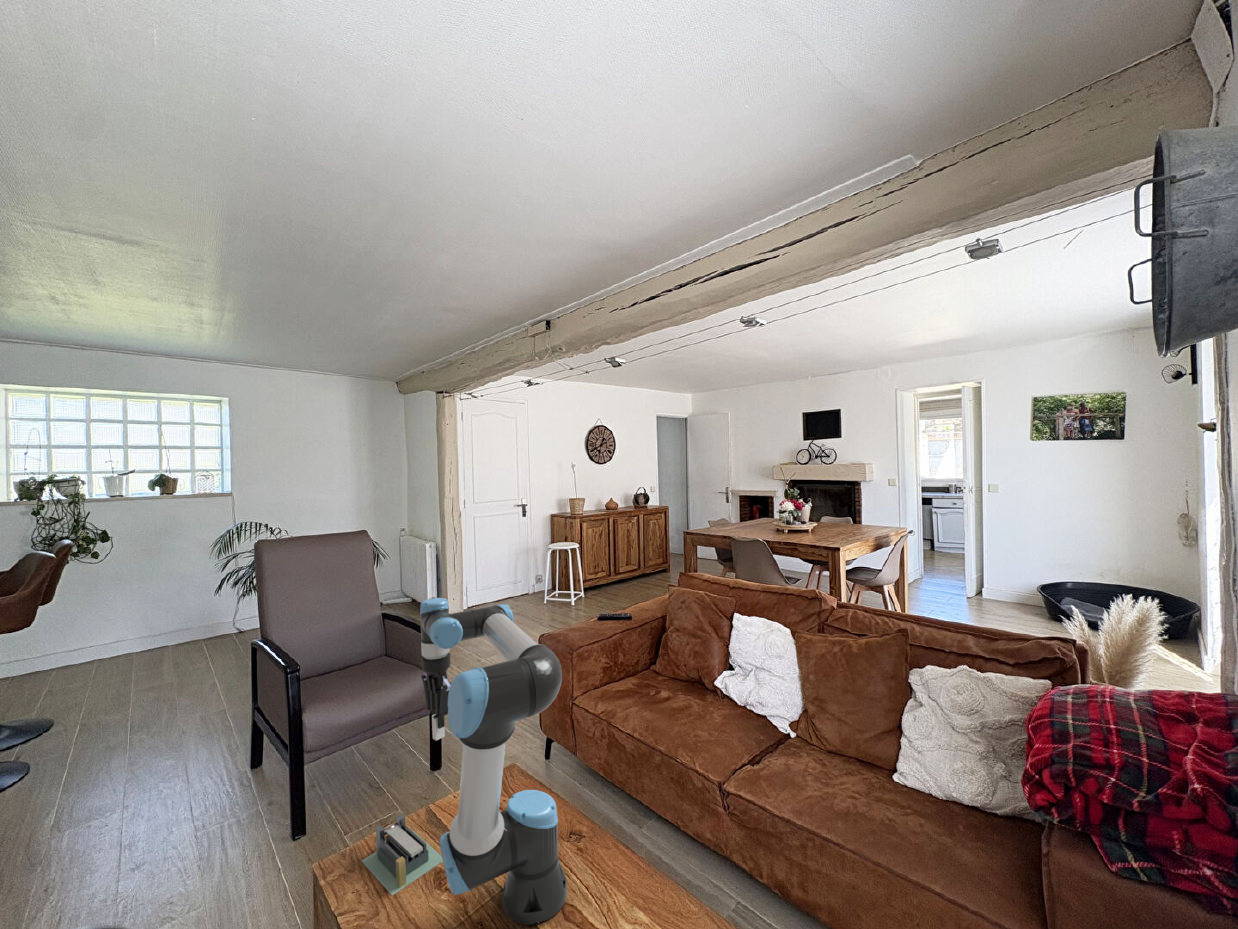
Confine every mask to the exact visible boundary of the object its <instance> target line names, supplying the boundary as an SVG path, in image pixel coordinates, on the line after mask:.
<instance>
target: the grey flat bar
mask: <svg viewBox="0 0 1238 929" xmlns="http://www.w3.org/2000/svg"><path fill="white" fill-rule="evenodd" d="M384 832H385V836H389V837H390V838H391V839H392V840H393V841H394V842H395V843H396V844H397V845H398V846H399V847H400V848H402V849H403V850H404V851H405V852H406V853H407V854H408V855H409V856H410V857H411V858H412V857H413V856H415V855H416V854H418V853H420V852H421V851H423V847H422V846H421V845H420V844H418V843H417V842H416V841H415V840H414V839H413V838H412V837H410V836H409V835H408V834H407V833H406V832H405V831H404V830H402V829H401V828H400V827H399V825H398V823H397V821H396V822H394V823H393V824H391V825H389V826H387V827H385V828H384Z"/></svg>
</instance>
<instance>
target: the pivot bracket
mask: <svg viewBox="0 0 1238 929" xmlns="http://www.w3.org/2000/svg"><path fill="white" fill-rule="evenodd" d="M396 822H397V823H398V825H399V827H400V828H401V829H402V830H404V827H403V826H405V825H406V816H404V815H403V814H402V813H399V814H397V815H396ZM384 829H385V828H384V827H383V826H382V825H378V826H376V827H375V846H376V847H375V848H376V851H375V852H377V855H378V848H380V844H379V840H381V839H383V840H384V841H385V842H386V837H385V836H386V835H385V832H384Z"/></svg>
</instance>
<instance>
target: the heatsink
mask: <svg viewBox="0 0 1238 929" xmlns="http://www.w3.org/2000/svg"><path fill="white" fill-rule="evenodd" d="M403 827H404V831H405V832H406V833H407V834H408V835H409V836H410V837H412V838H413V839H414V840H415V841H416V842H417V843H418V844H420V845H421V846H422V847H423V851H421V852H420V853H418V854H416V855H415V856H413V857H412V858H411V857H410V856H409V855H408V854H407V853H406V852H405V851H404V850H403V849H402V848H400V847H399V846H398V845H397V844H396V843H395V842H394V841H393V840H392V839H391V838H390V837H389V836H387V835H385V841H384V840H383V839H381V840H379V844H380V848H378V860H379V861H380V862H381V863H382V864H383V865H384V866H385V867H386V868H387V869H388V870H389V871H390V873H391V874H392V875H393V876H394V877H395V878H396V860H397V859H398V858H400V857H403V858H404V859H405V865H406V876H407V875H408V874H410V873H411V872H413V871H414V870H416V869H417V868H419V867H420V866H422V865H423V864H425V863H426V862H428V861H429V857H428V849H426V843H425V842H426V841H425V840H424V839H423V838H422V839H423V840H424V841H425V842H424V841H423V840H422V839H420V838H419V837H418V836H417V835H416V834H417V833H416V832H415V831H414V830H413V831H414V832H415V833H416V834H415V833H414V832H413V831H412V829H411V828H410V827H409V826H407V825H406V824H405V826H403Z"/></svg>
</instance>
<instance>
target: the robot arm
mask: <svg viewBox="0 0 1238 929" xmlns="http://www.w3.org/2000/svg"><path fill="white" fill-rule="evenodd" d="M419 609H420V612H419V616H420V632H421V634H420V635H421V636H420V637H421V638H420V639H421V642H420V643H421V645H420V646H421V656H422V657H421V669H422V671H423V672H425V673H424V674H421V681H422V683H423V690H424V691H423V692H424V699H425V705H426V709H427V711H429V712H430V713H429V714H431V727H432V728H431V731H432V732H431V734H432V739H433V740H434V741H438V740H440V739H442V738H445V737H446V735H445V734H446V733H445V732H446V731H445V716H447V719H448V725H449V729H450V731H451V734H452V736H454V737H455V738H457V739H458V740H459V742H460V743H461V744H462V756H461V757H462V758H461V770H460V781H459V783H460V784H459V798H458V810H457V811H458V812H457V814H456V816H455V817H454V818H453V820H452V822H451V823H450V827H449V831H446V832H445V833H443V834H442V835H441V836H440V837H439V847H440V855H441V856H442V859H443V862H442V863H443V868H444V871H445V878H446V880H447V883H448V884H447V885H448V888H449V890H450V892H451V893H452V894H453V895H455V896H457V895H461V894H463V893H466V892H470V891H472V890H473V889H476V888H477V887H480V886H481V885H485V884H486V883H488V882H491V881H492V880H495V879H496V878H498V877H500V876H502V875H504V874H506V880H505V882H504V884H503V888H502V895H501V896H502V899H501V900H502V909H503V911H504V913H505V915H506V916H507V917H508V918H509V919H510V920H511V921H513V922H514V923H515V924H516V923H517V924H521V925H526V926H528V925H529V926H533V925H535V924H534V923H538V922H542V921H544V920H546V921H548V920H550V919H552V918H553V917H554V916H556V915H557V914H558V913H559V912H560V910H562V908H563V907H564V904H565V903H566V900H567V897H568V896H567V895H568V884H567V877H566V875H565V872H564V870H563V869H564V868H563V866H562V865H561V861H560V859H559V858H560V857H559V831H558V830H559V817H558V816H559V815H558V810H557V808H558V807H557V803H556V801H555V799H554V798H553V797H552V796H551V795H550V794H549V793H547V792H544V791H541V790H536V789H524V790H522V791H518V792H516V793H514V794H513V795H511V797H510V798H509V799H508V801H507V803H506V809H503V810H501V811H500V804H501V803H500V801H501V793H502V792H501V791H502V784H503V772H504V762H505V755H506V754H505V752H506V744H507V743H508V742H509V741H510V739H511V738H512V737H513V734H514V733H515V727H516V722H517V721H521V720H524V719H527V718H530V717H533V716H535V715H538V714H540V713H542V712H544V711H545V710H546V709H548V708H549V706H552V703H553V702H554V701H555V700H556V698H557V696H558V694H559V692H560V689H561V686H562V682H563V671H562V669H563V668H562V665H561V662H560V659H559V658H558V656H557V655H556V654H555V652H553V650H551V649H550V647H548V646H546V645H545V644H540V643H539V644H538V643H537V642H536V641H534V639H532V638H531V637H530V636H529V635H528V634H527V633H526V632H524V631H523V630H522V629H521V628H520V627H519V626H518V625H517V624H515V622H514V613H513V611H512V609H511V607H510V605H508V604H495V605H490V606H486V607H481V608H475V609H470V610H469V609H468V610H465V611H463V610H462V611H458V612H453V613H450V606H449V601H448V599H446V598H444V597H434V598H433V597H432V598H429V599H426V600H423V601H422V602H421V603H420V608H419ZM481 637H482V638H483V637H484V638H486V639H487V640H488V642H489V643H490V644H491V645H492V646H493V647H494V649H495V650H496V651H497V652H498V653H499V654H500V655H501V657H503V659H505V661H502V662H499V663H494V664H491V665H487V666H484V667H483V666H482V667H479V666H476V667H473V668H471V669H469V670H467V671H463V672H460V673H459V674H457V675H456V676H455V677H454V678H453V679H452V682H449V680H448V673H447V671H448V669H449V668H450V666H451V654H450V650H451V649H452V648H454V647H456V646H457V645H458V644H459V643H460V642H462V641H466V640H467V641H469V640H472V639H477V638H481ZM544 922H545V921H544ZM542 923H543V922H542ZM538 924H539V923H538Z"/></svg>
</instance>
